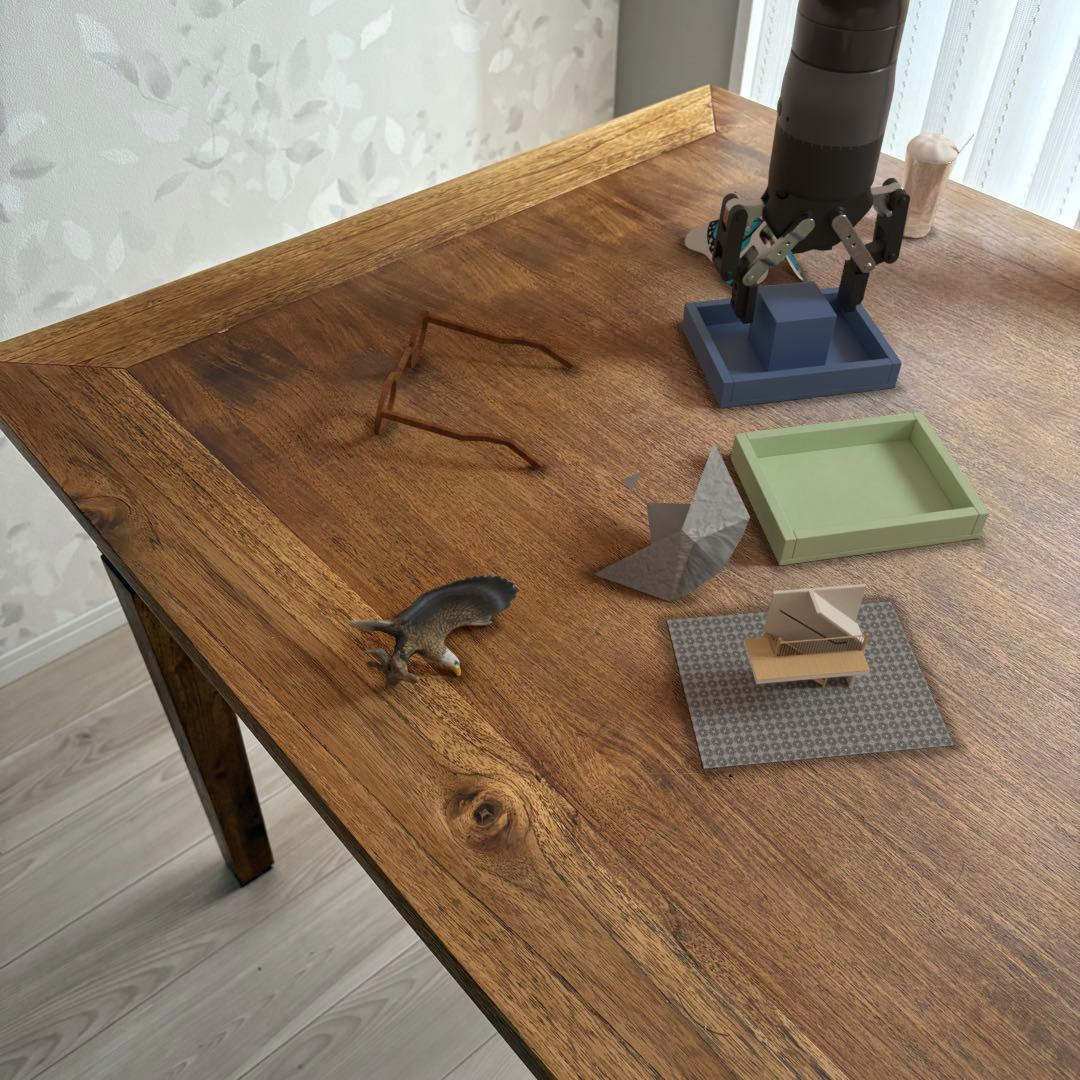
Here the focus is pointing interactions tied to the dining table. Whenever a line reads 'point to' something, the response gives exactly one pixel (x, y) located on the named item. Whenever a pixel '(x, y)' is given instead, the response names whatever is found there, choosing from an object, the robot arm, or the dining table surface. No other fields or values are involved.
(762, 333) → the block
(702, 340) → the blue tray
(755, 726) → the architectural model
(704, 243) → the decorative butterfly
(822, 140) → the robot arm
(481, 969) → the dining table surface
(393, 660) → the eagle figurine
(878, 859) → the dining table surface
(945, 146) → the milkshake
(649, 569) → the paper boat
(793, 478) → the green tray
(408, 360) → the glasses
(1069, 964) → the dining table surface
